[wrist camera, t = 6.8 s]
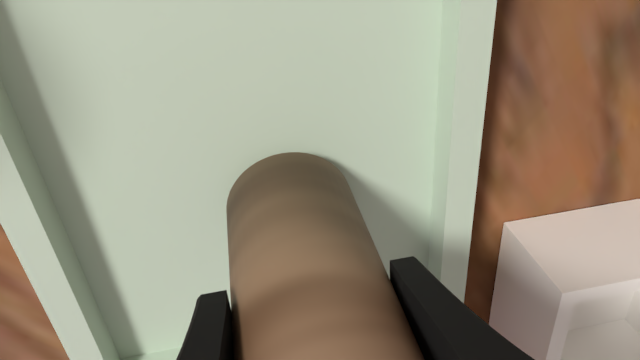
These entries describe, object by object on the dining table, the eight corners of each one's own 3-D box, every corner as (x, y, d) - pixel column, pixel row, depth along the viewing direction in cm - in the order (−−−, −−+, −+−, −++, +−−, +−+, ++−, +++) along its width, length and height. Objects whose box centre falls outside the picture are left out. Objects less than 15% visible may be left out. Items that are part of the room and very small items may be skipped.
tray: (441, 299, 22) (460, 335, 20) (104, 363, 20) (95, 408, 19) (490, -357, 11) (540, -396, 10) (-213, -330, 10) (-302, -371, 8)
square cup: (624, 315, 25) (689, 385, 22) (485, 344, 24) (530, 422, 21) (667, 193, 21) (754, 255, 18) (503, 222, 20) (562, 293, 17)
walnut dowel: (355, 243, 18) (515, 661, 8) (239, 266, 17) (273, 732, 8) (346, 141, 15) (549, 552, 6) (213, 165, 15) (221, 642, 6)
